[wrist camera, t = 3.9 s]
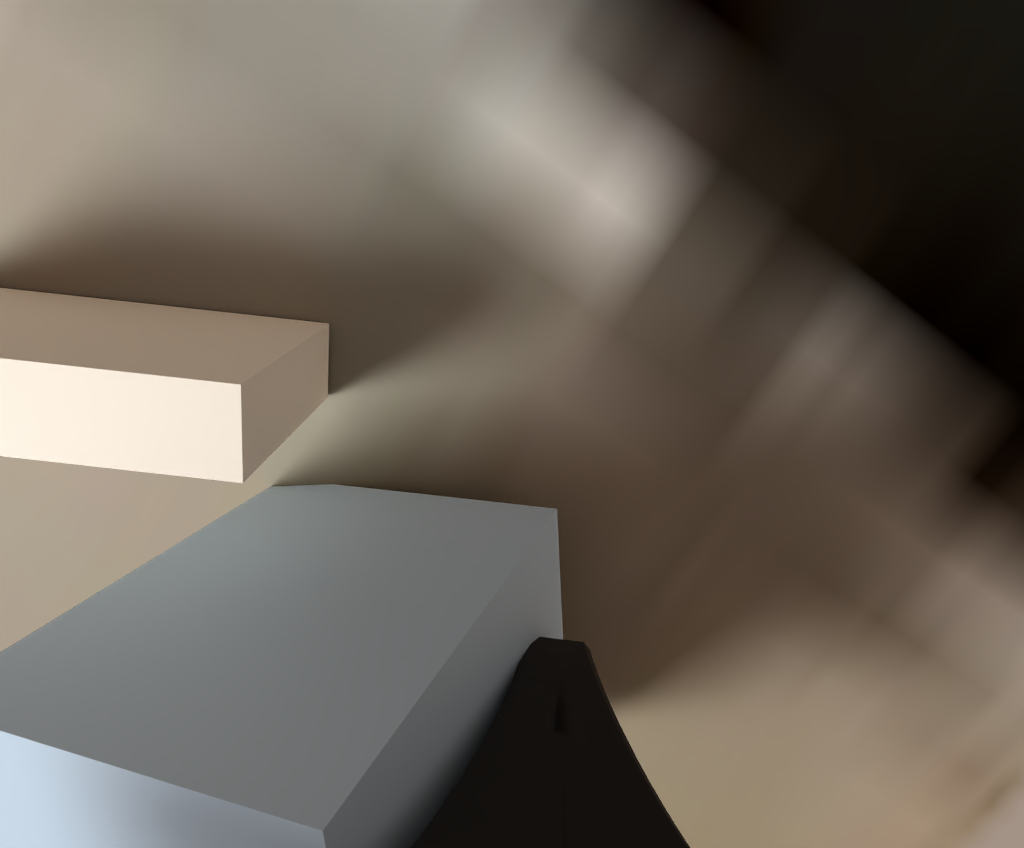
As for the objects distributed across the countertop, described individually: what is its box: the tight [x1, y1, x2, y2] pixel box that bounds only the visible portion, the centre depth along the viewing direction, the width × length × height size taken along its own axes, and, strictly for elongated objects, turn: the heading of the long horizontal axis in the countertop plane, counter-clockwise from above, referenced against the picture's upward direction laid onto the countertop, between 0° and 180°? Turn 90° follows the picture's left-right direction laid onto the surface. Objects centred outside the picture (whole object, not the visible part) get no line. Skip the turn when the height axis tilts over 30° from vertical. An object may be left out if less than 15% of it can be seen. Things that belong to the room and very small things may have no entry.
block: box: [0, 484, 563, 848], centre depth 10 cm, size 5×5×6 cm
